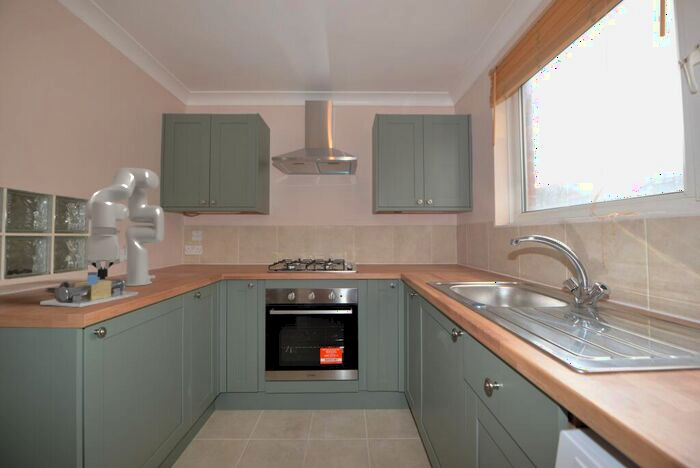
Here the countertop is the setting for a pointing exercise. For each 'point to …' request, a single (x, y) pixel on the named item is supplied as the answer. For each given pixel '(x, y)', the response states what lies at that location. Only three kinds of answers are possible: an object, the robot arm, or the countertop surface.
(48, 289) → the valve
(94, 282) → the lever
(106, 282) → the pipe valve
